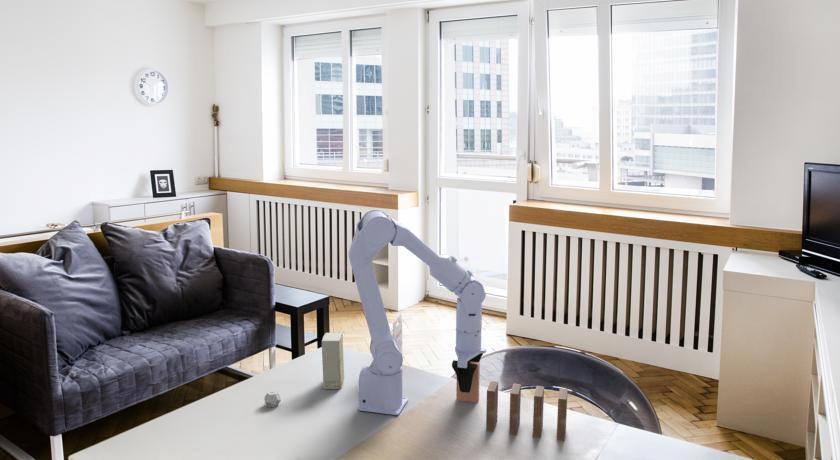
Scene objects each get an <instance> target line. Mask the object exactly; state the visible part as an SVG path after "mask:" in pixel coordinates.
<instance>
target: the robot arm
mask: <svg viewBox="0 0 840 460" xmlns="http://www.w3.org/2000/svg"><path fill="white" fill-rule="evenodd" d="M389 244H391V246H393V247H404V248H405V249H406V250H408V251H409V252H410V253H412V254H413V255H414V256H416V257H417V258H418V259H419V260H421V262H423V263H425V264H426V266H429V268H428V269H429V275H430V276H431V277H432V278H434V279H435V280H436V281H437V282H438V283H440V284H441V285H442V286H444V288H446V289H447V290H448V291H449V292H451V293H454V295H455V296H457V297H456V309H455V311H456V313H455V314H456V315H455V316H456V318H455V322H456V323H455V346H454V353H455V355H456V357H457V360H455V359H453V361H452V362H451V368H452V369H453V371H454V373H455V375H456V380H457V379H458V383H459V388H460V391H461V392H467V393H469V392H470V390H471V385H472V379H473V375H474V372H475V370H476V368H477V366H478V364H471V363H470V362H478V363H481V362H480V361H481V358H482V357H483V354H486V353H487V348H486V347H484V346H482V324H483V321H482V320H483V319H482V318H483V317H482V316H483V310H482V303H483V302H484V300H485V298H486V295H487V292H486V291H485V288H484V286H483V284H482V283H481V282H480V280H478V279H477V277H475V276H474V275H473V273H472V272H471V271H470V270H469V269H468V270H466V269H465V268H464V267H462V266H461V265H460V264H459V263H457V262H458V260H457V258H456V257H455V256H453V255H451V256H449V255H448V254H437V252H435V251H434V250H433V249H432V248H431V247H429V245H427V244H426V243H425V242H424V241H423V240H421V238H419V237H418V236H417V235H416V233H414V232H412V231H411V230H410V229H409V228H408V227H407V226H405V225H404V224H402V223H401V222H399V221H398V220H396V219H395V218H393V217H391V216H390V218H389V216H388V215H387V213H386V212H384V211H382V210H380V209H371V210H369V211H367V212H366V213H365V214H364V215H363V216H362V218H360V220H359V221H358V222H357V223H356V227H355V232H354V234H353V238H352V241H351V243H350V247H349V249H348V259H349V262H350V266H351V270H352V274H353V277H354V281H355V284H356V288H357V291H358V295H359V298H360V302H361V306H362V309H363V313H364V317H365V320H366V324H367V327H368V332H369V335H370V344H369V351H370V353H371V356H372V362H371V364H370V365H364V366H363V367H362V368H361V370H360V372H359V374H358V375H359V376H358V407H357V411H360V412H368V413H376V414H377V413H378V414H386V415H393V416H399V415H400V414H401V412H402V411H403V409H404V407H405V406H406V404H407V402H408V401H409V399H408V397H403V363H404V358H403V357H404V356H403V353H402V354H401V352H400V351H399V348H398V346H397V341H396V339H395V338H394V337H393V336H392V334H391V331H390V327H389V324H388V323H389V321H388V317H387V314H386V310H385V304H384V302H383V298H382V295H381V291H380V287H379V284H378V283H379V282H378V279H377V276H376V273H375V270H374V269H375V268H374V265H373V259H374V258H375V257H376V255H377V254H378V252H379V251H380V250H381V249H383V248H384V247H386V246H387V245H389Z"/></svg>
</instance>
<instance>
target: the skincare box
mask: <svg viewBox="0 0 840 460" xmlns="http://www.w3.org/2000/svg"><path fill="white" fill-rule="evenodd" d="M343 342H344V340H343V332H325V333H324V335H323V336H322V340H321V358H322V361H321V362H322V377H323V378H322V381H323V383H322V384H323V389H324V390H341V389H342V388H343V384H344V382H345V381H344V380H345V363H344V361H345V359H344V343H343Z"/></svg>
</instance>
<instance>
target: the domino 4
mask: <svg viewBox="0 0 840 460" xmlns="http://www.w3.org/2000/svg"><path fill="white" fill-rule="evenodd" d="M568 391H569V390H568V388H560V387H559V392H558V401H557V420H556V421H557V423H556V441H561V442H566V441H565V440H566V431H567V417H568V416H567V411H568Z"/></svg>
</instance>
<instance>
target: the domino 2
mask: <svg viewBox="0 0 840 460" xmlns="http://www.w3.org/2000/svg"><path fill="white" fill-rule="evenodd" d="M521 393H522V384H521V383H514V382H513V383H512V387H511V389H510V393H509V395H510V396H509V423H508V425H509V426H508V427H509V428H508V430H509V431H508V434H509V435H514V436H518V432H519V428H520V424H521V398H522V397H521Z"/></svg>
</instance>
